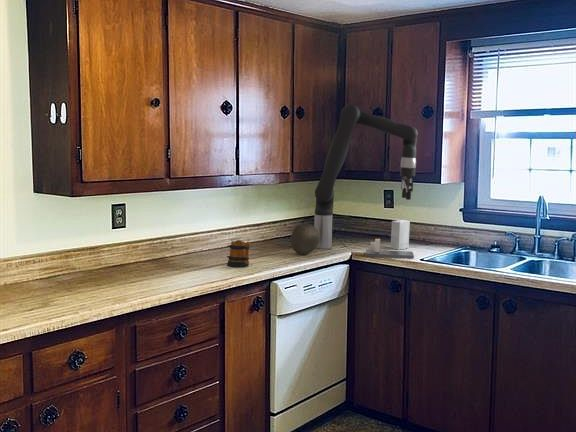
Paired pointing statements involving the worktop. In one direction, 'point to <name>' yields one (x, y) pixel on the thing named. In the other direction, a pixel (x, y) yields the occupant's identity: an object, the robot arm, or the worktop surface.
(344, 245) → the worktop surface
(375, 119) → the robot arm
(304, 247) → the cantaloupe
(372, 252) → the console
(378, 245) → the fader
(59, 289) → the worktop surface
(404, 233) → the skincare box
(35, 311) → the worktop surface
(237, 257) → the mug
